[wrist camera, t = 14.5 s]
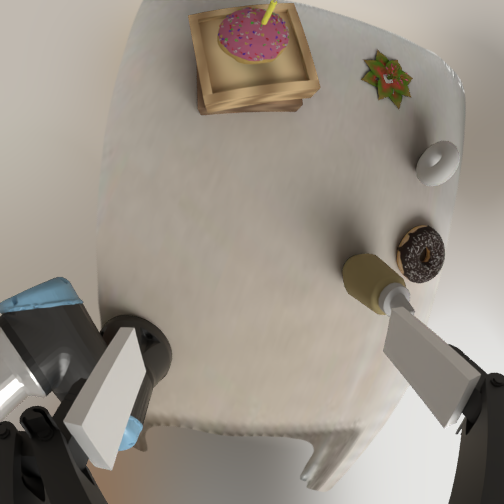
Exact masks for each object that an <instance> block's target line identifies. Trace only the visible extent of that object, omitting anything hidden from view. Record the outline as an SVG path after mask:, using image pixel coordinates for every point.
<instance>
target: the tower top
mask: <svg viewBox="0 0 504 504" xmlns="http://www.w3.org/2000/svg"><path fill="white" fill-rule="evenodd" d="M268 6H269V4H261V5H250V6H241V7H233V8H226V9H219V10H213V11H208V12H202V13H198V14H193V15H188V18H189V23H190V29H191V35H192V40H193V46H194V51H195V56H196V62H197V67H198V72H199V77H200V83H201V88H202V93H203V98H204V103H205V106H206V109H207V112H208V113H212V112H217V111H221V110H226V109H232V108H237V107H242V106H248V105H254V104H261V103H268V102H275V101H283V100H292V99H302V98H311V97H312V96H313V95H314V94H315V93H316V92H317V91H318V90H319V89H320V84H319V80H318V76H317V73H316V69H315V66H314V62H313V59H312V56H311V52H310V49H309V46H308V43H307V40H306V37H305V34H304V31H303V28H302V25H301V22H300V19H299V16H298V13H297V11H296V8H295V5H294V3H279V4H276V6H275V8H274V10H273V12H274V13H275V14H277V15H278V14H279V16H280V18H282V19H283V20H284V22H286V23H285V24H286V26H287V27H288V29H289V30H288V32H289V41H288V44H287V46H286V48H285V49H284V51H283V52H282V53H281V54H280V55H279V56H278V57H277V58H276V59H275V60H274V61H272V62H268V63H261V64H243V63H239V62H237V61H236V60H235V59H233V58H232V57H230V56H228V55H227V54H226V53H224V52H223V51H222V50H221V48H220V47H219V45H218V42H217V36H218V31H219V28H220V27H219V26H220V24H221V22H222V21H223V20H224V19H225V18H226V16H227V15H229V14H231V13H233V12H235V11H238V9H243V8H245V9H247V8H248V7H251V8H256V7H257V8H258V9H265V10H267V9H268Z"/></svg>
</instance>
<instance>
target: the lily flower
mask: <svg viewBox="0 0 504 504" xmlns="http://www.w3.org/2000/svg"><path fill="white" fill-rule="evenodd" d="M364 61H365V62H366V64H367V65H368V66H369V68H370V69H371V70H372V71H369V72H368V73H367V74H366V75H365V76H364V78H362V79H361V80H364V81H365V82H368V83H369V84H371V85H373V86H375V87H378V95H379V99H378V100H380V99H383V98H384V97H385V98H386V97H389V98H390V99H391V100H392V102H393V103H394V104H395V105H396V106H397V107H398V109H399V107H400V103H401V101H402V95H404V96H409V97H411V96H410V92H409V88H408V86H407V85H408V84H409V83H410V82H411V80H412V79H413V78H411V77H410V76H409V75H408V74H406V73H405V72H403V71H402V67H401V66H400V64H399V63H398V60H395V61H394V60H391V61H389V60H388V59H387V57H386V56H384V55H383V54H382V53H380V52H379V51H377V55H376V60H368V61H367V60H364ZM384 74H389V75H390V76H388V75H387V76H388V77H387V79H388V80H390V79H393V83H386V82H385V80H384V77H383V75H384ZM377 77H378V78H380V79H379V80H378V81H377V80H375V79H376V78H377ZM400 78H401V79H400ZM391 82H392V81H391ZM393 89H394V94H393Z"/></svg>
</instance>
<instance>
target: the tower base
mask: <svg viewBox="0 0 504 504" xmlns="http://www.w3.org/2000/svg"><path fill="white" fill-rule="evenodd" d="M197 100H198V110H199V112H200V114H201V115H210V114H223V113H239V112H296V111H297V110H298V109H299V108H300V107H301V106H302V105H303V102H302V99H292V100H283V101H275V102H268V103H261V104H254V105H248V106H242V107H237V108H232V109H226V110H221V111H217V112H212V113H208V112H207V109H206V106H205V103H204V98H203V93H202V88H201V83H200V77H199V72H198V67H197Z"/></svg>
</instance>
